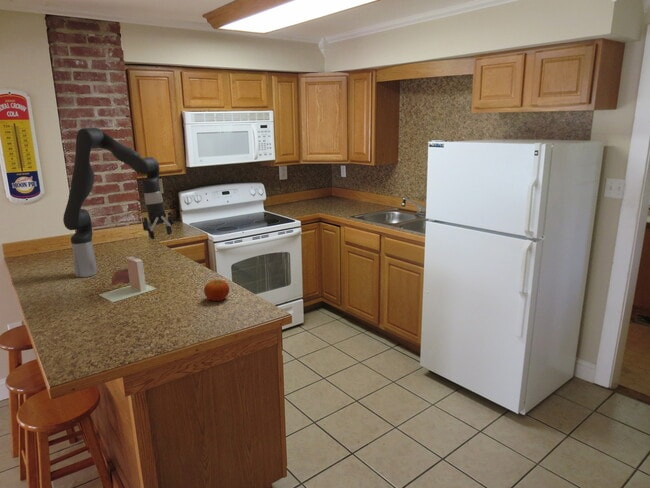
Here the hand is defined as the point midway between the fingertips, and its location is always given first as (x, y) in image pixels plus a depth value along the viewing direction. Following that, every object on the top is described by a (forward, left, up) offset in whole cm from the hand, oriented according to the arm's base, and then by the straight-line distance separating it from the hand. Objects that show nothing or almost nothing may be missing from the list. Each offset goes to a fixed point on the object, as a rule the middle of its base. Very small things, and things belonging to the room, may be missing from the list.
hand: (161, 236), depth 214 cm
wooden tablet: (-22, +16, -23) cm, 36 cm away
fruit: (+23, -29, -23) cm, 44 cm away
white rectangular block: (-12, -6, -22) cm, 26 cm away
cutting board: (-16, -9, -22) cm, 29 cm away
